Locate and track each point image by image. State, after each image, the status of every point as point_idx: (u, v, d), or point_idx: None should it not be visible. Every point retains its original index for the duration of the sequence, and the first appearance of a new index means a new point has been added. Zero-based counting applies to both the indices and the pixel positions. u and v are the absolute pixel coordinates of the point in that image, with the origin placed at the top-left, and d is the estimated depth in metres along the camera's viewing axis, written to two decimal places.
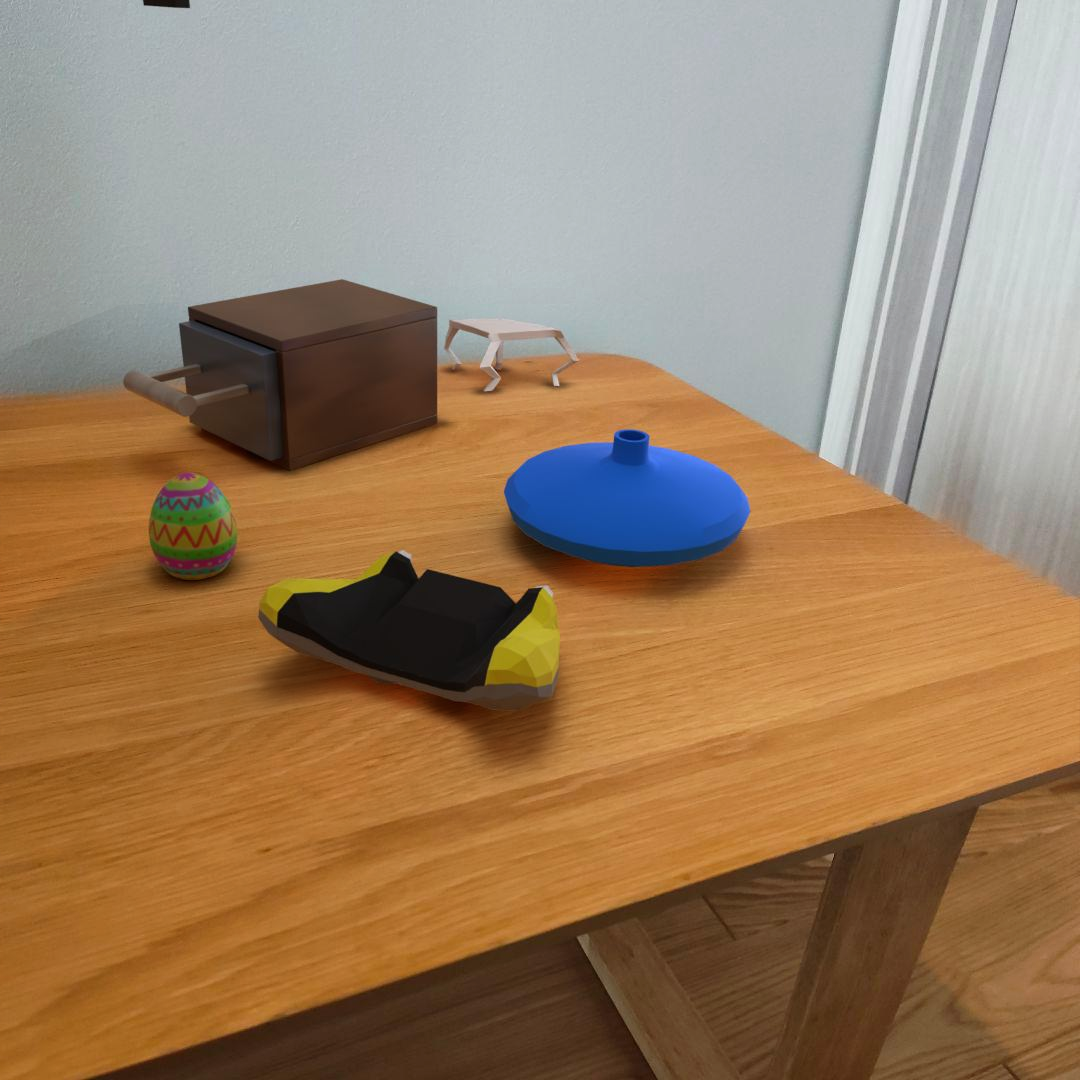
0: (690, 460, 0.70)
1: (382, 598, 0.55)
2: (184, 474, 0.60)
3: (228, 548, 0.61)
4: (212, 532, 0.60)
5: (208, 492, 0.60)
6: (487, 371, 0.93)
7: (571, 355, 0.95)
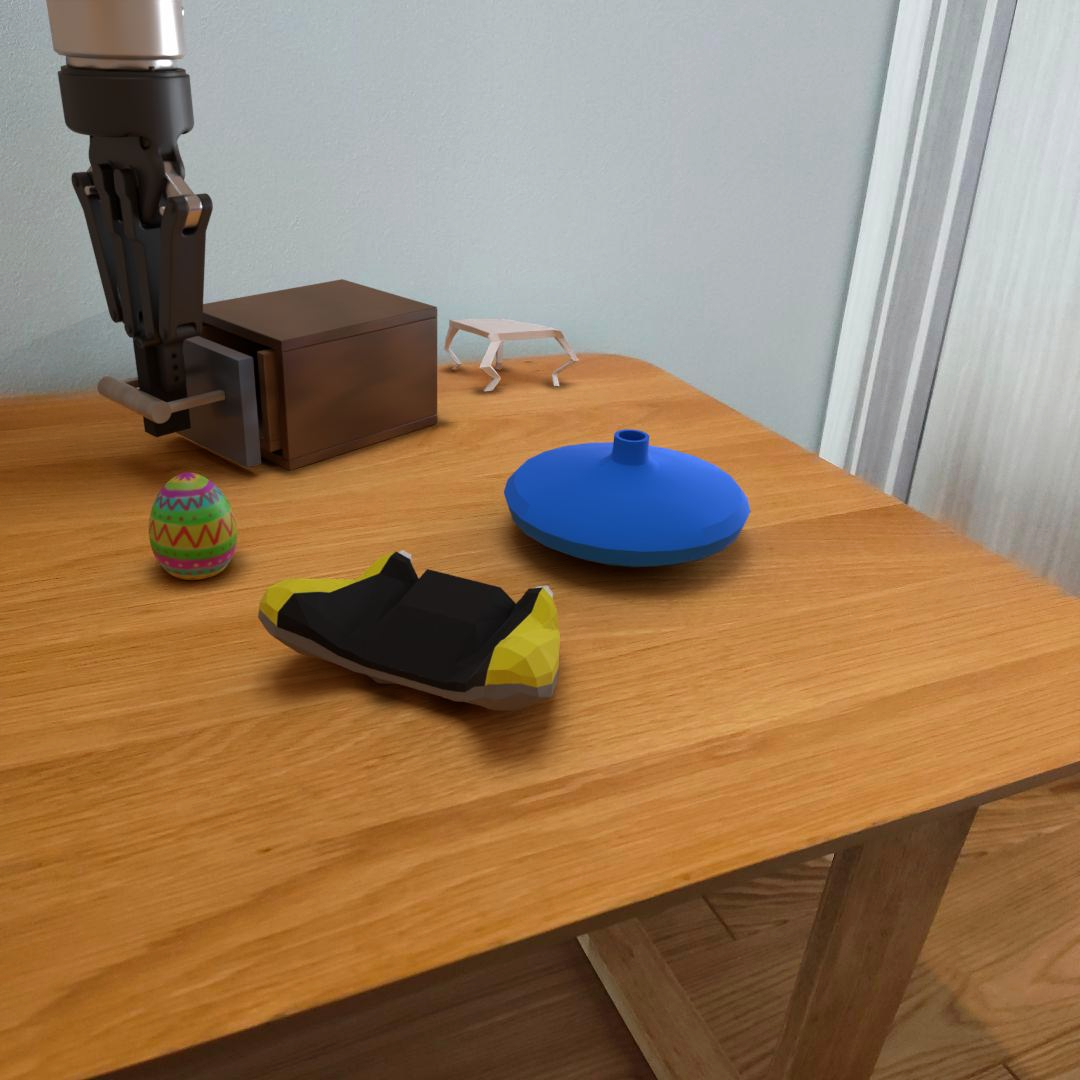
0: (690, 460, 0.70)
1: (382, 598, 0.55)
2: (184, 474, 0.60)
3: (228, 548, 0.61)
4: (212, 532, 0.60)
5: (208, 492, 0.60)
6: (487, 371, 0.93)
7: (571, 355, 0.95)
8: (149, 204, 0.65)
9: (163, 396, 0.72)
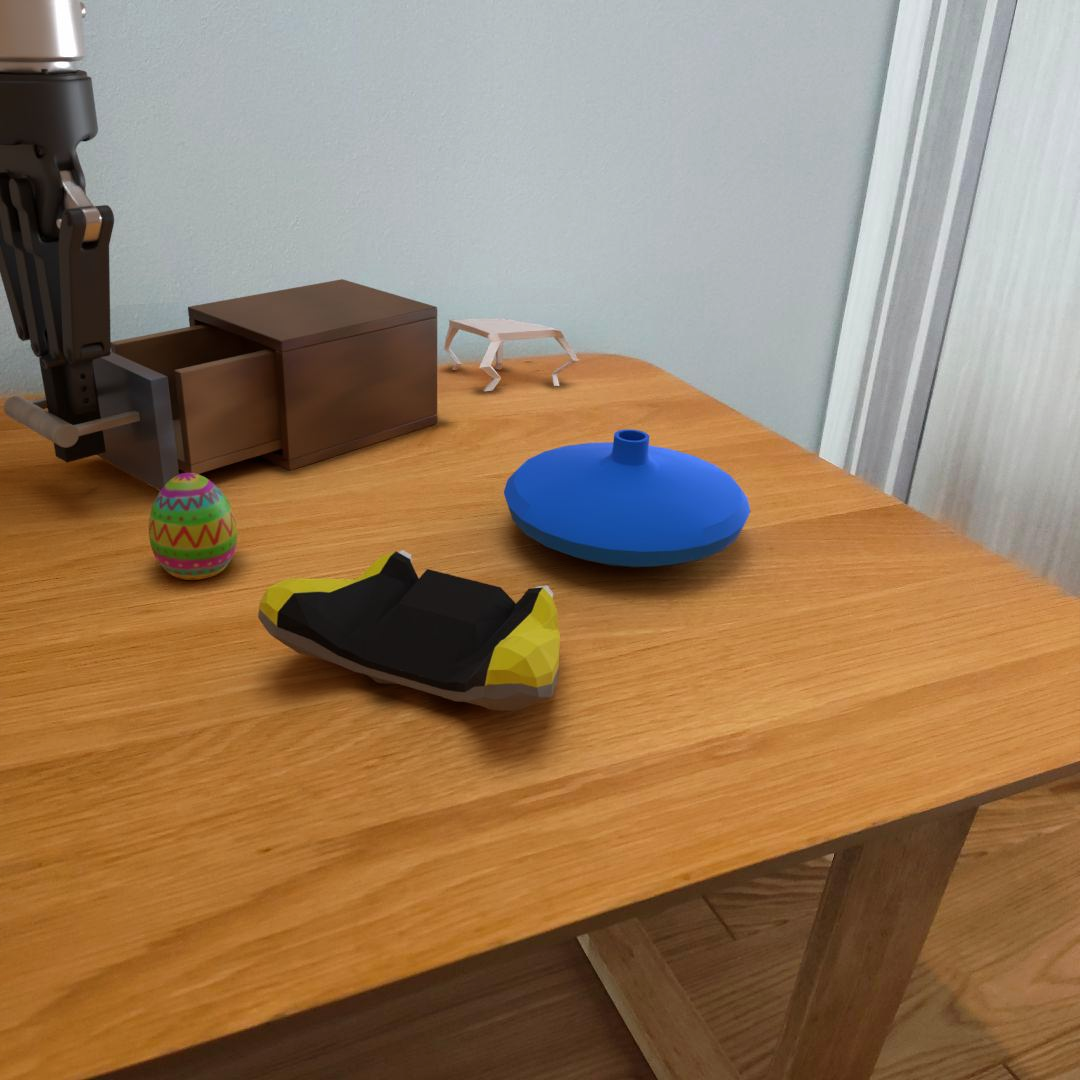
0: (690, 460, 0.70)
1: (382, 598, 0.55)
2: (184, 474, 0.60)
3: (228, 548, 0.61)
4: (212, 532, 0.60)
5: (208, 492, 0.60)
6: (487, 371, 0.93)
7: (571, 355, 0.95)
8: (47, 216, 0.61)
9: (73, 419, 0.68)
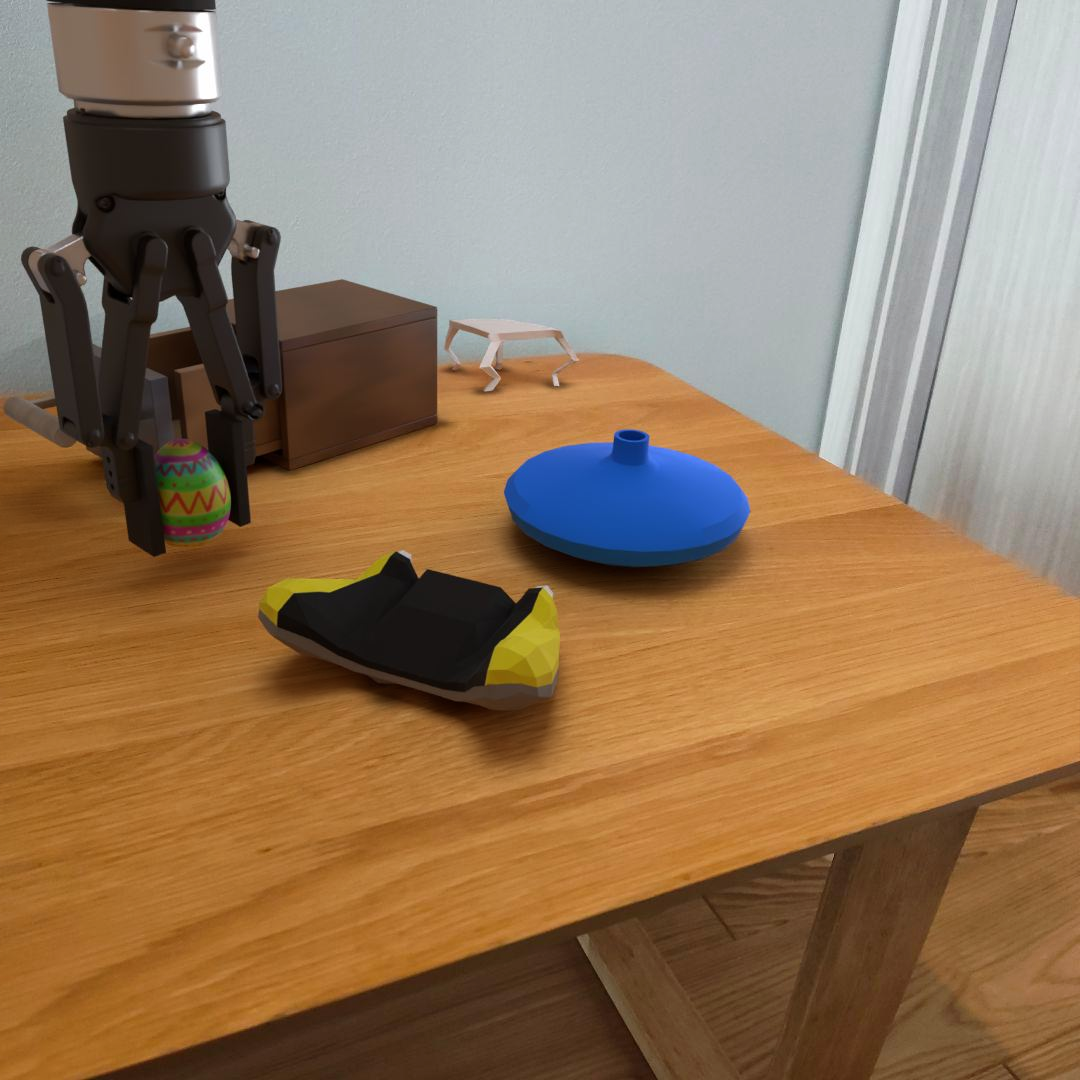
0: (690, 460, 0.70)
1: (382, 598, 0.55)
2: (177, 440, 0.60)
3: (222, 515, 0.61)
4: (205, 499, 0.60)
5: (202, 458, 0.60)
6: (487, 371, 0.93)
7: (571, 355, 0.95)
8: None
9: (131, 502, 0.59)
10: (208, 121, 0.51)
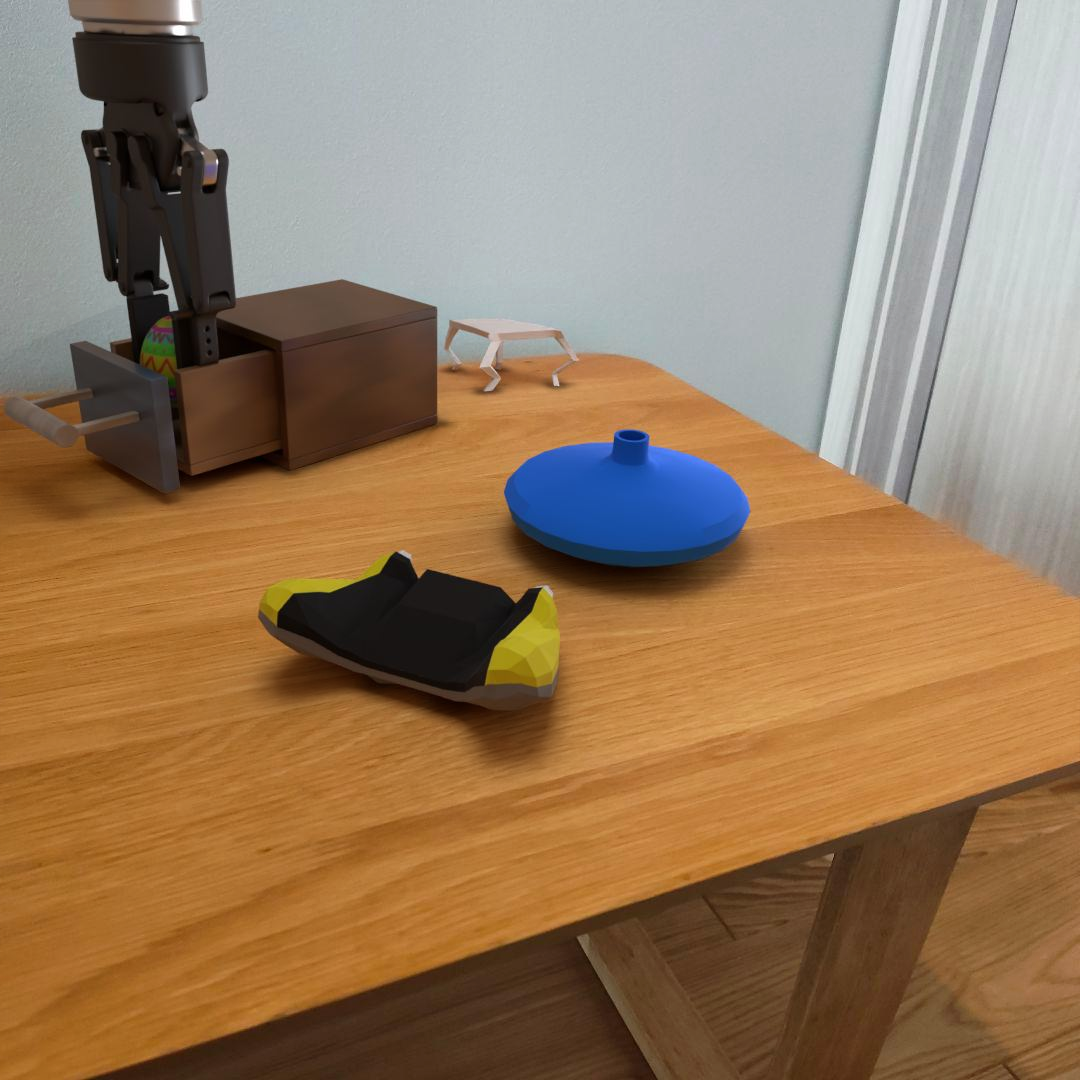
0: (690, 460, 0.70)
1: (382, 598, 0.55)
2: None
3: None
4: (144, 362, 0.71)
5: (159, 332, 0.71)
6: (487, 371, 0.93)
7: (571, 355, 0.95)
8: None
9: None
10: (99, 36, 0.61)
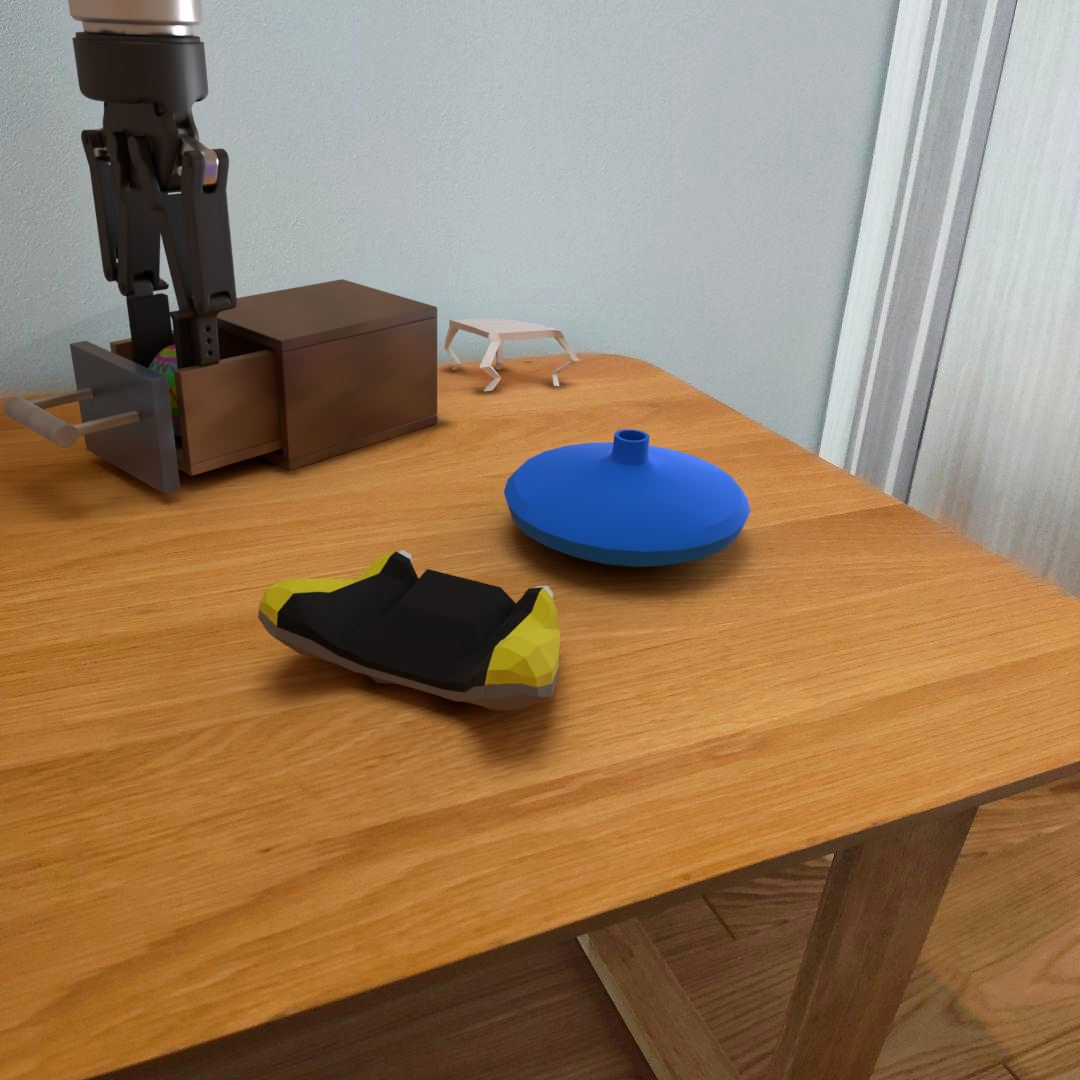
0: (690, 460, 0.70)
1: (381, 598, 0.55)
2: None
3: None
4: None
5: (162, 362, 0.72)
6: (487, 371, 0.93)
7: (571, 355, 0.95)
8: None
9: None
10: (99, 36, 0.61)
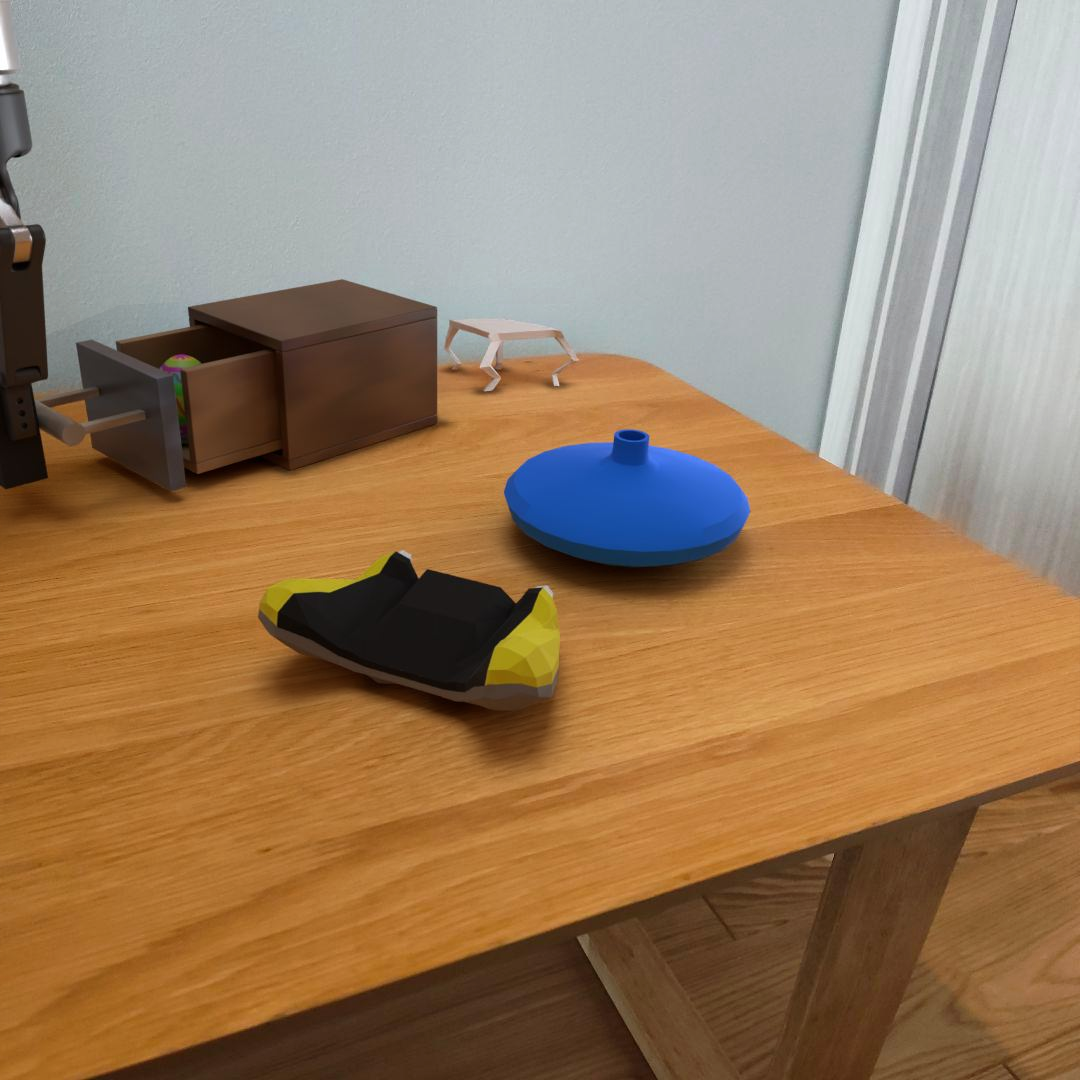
0: (690, 460, 0.70)
1: (382, 598, 0.55)
2: (181, 355, 0.74)
3: None
4: None
5: (168, 372, 0.73)
6: (487, 371, 0.93)
7: (571, 355, 0.95)
8: None
9: None
10: None
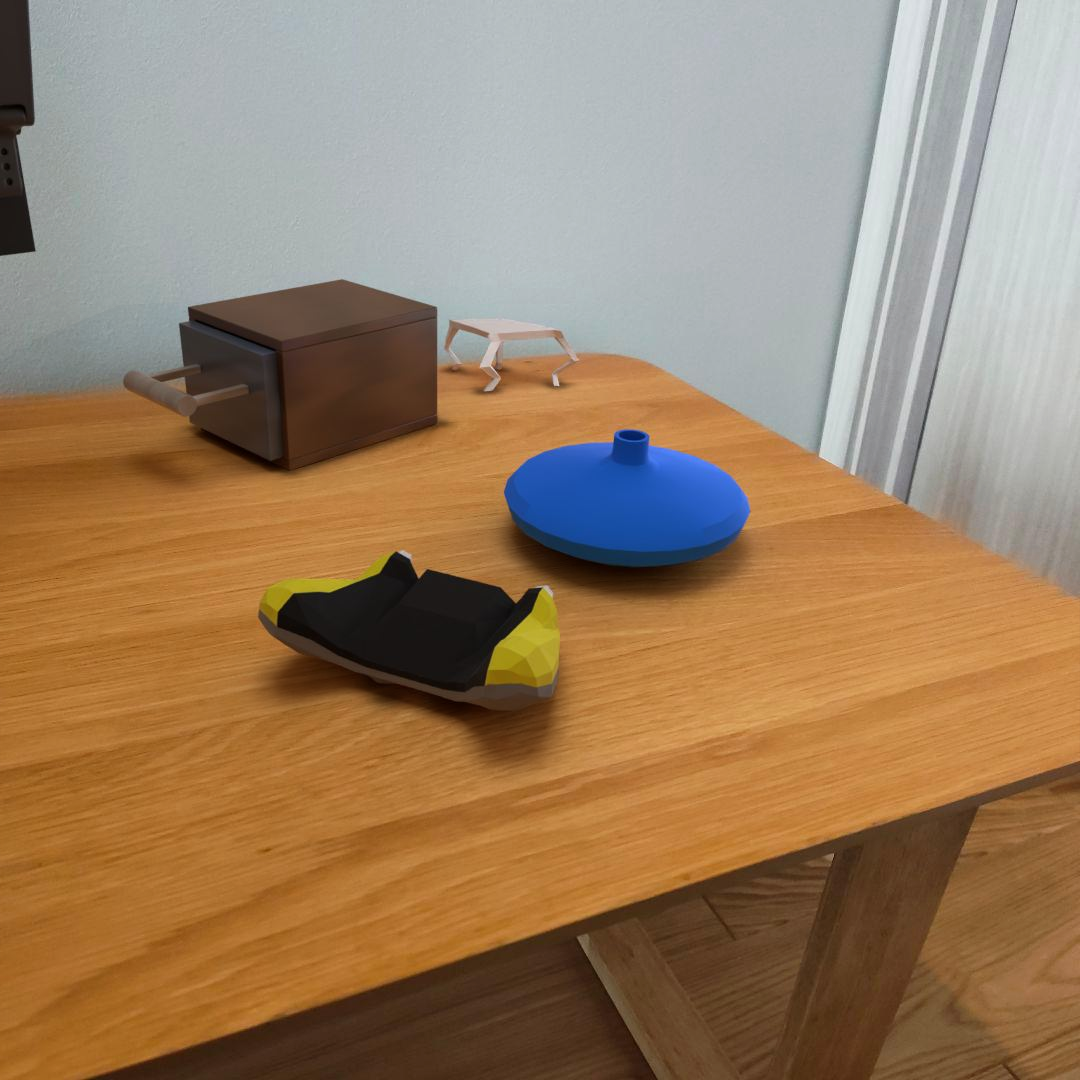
0: (690, 460, 0.70)
1: (382, 598, 0.55)
2: None
3: None
4: None
5: None
6: (487, 371, 0.93)
7: (571, 355, 0.95)
8: None
9: None
10: None
